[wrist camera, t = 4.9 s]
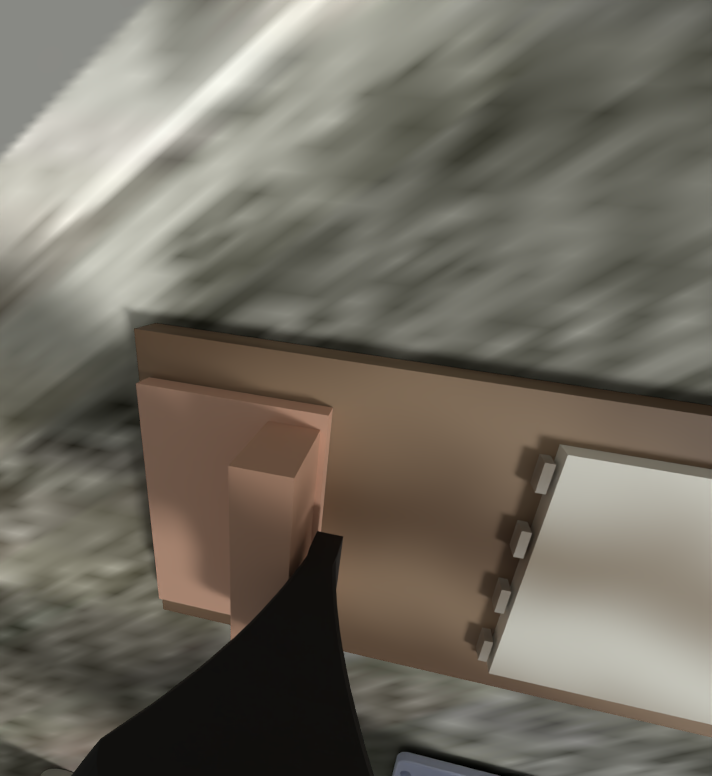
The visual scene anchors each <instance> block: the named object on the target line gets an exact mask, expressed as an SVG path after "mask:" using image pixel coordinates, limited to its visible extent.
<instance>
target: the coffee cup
mask: <svg viewBox="0 0 712 776" xmlns="http://www.w3.org/2000/svg"><path fill="white" fill-rule="evenodd" d="M72 774H73V773H72V772H69V771H67V770H62V769H48V770H46V771H44V772H43V773H42V774H41V775H40V776H71V775H72Z"/></svg>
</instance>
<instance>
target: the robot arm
mask: <svg viewBox="0 0 712 776" xmlns="http://www.w3.org/2000/svg"><path fill="white" fill-rule="evenodd" d="M342 543H343V536H339V535H334V534H329V533H324V532H319V531H317V533H316V535H315V537H314V539H313V541H312V543H311V545H310V548H309V551H308V554H307V556H306V558H305V559H304V560H303V562H302V563H301V564H300V566H299V567H298V568H297V570H296V571H295V572H294V573H293V575H292V576H291V577H290V578H289V580H288V581H287V582H286V583H285V585H284V586H283V587H282V588H281V589H280V590H279V591H278V593H277V594H276V595H275V596H274V597H273V598H272V599H271V600H270V602H269V603H268V604H267V605H266V606H265V607H264V608H263V609H262V610H261V611H260V612H259V613H258V614H257V616H256V617H255V618H254V619H253V620H252V621H251V622H250V623H249V624H248V625H247V626H246V627H244V628H243V629H242V630H241V631H240V632H239V633H238V634H237V635H236V636H235V637H234V638H233V639H232V640H231V641H230V642H228V643H227V644H226V645H225V646H224V647H223V648H222V649H221V650H219V651H218V652H217V653H216V654H215V655H214V656H213V657H212V658H210V659H209V660H208V661H207V662H206V663H204V664H203V665H202V666H201V667H200V668H198V669H197V670H196V671H195V672H193V673H192V674H191V675H189V676H188V677H187V678H185V679H184V680H183V681H182V682H180V683H179V684H178V685H176V686H175V687H174V688H172V689H171V690H170V691H169V692H167V693H166V694H165V695H163V696H162V697H161V698H159V699H158V700H157V701H155V702H154V703H152V704H151V705H150V706H148V707H147V708H145V709H144V710H142V711H141V712H139V713H138V714H136V715H135V716H133V717H132V718H130V719H129V720H128V721H126V722H125V723H123V724H122V725H120V726H119V727H117V728H116V729H114V730H113V731H111V732H110V733H108V734H107V735H105V736H104V737H103V738H101V739H100V740H99V741H98V743H97V744H96V745H95V746H94V747H93V749H92V750H91V751H90V752H89V754H88V755H87V756H86V757H85V759H84V760H83V761H82V763H81V764H80V765H79V767H78V768H77V769H76V770H75V772H74V773H73V774H72V775H71V776H374V775H373V771H372V768H371V765H370V762H369V758H368V755H367V751H366V748H365V744H364V740H363V737H362V733H361V729H360V725H359V721H358V717H357V713H356V709H355V705H354V701H353V697H352V693H351V689H350V684H349V679H348V674H347V669H346V664H345V658H344V653H343V647H342V641H341V634H340V626H339V617H338V608H337V594H336V588H337V582H338V574H339V566H340V558H341V550H342ZM392 776H499V775H496V774H492V773H488V772H484V771H480V770H476V769H472V768H468V767H465V766H461V765H457V764H453V763H449V762H445V761H441V760H437V759H433V758H430V757H426V756H422V755H418V754H414V753H410V752H401V753H399V754H398V755H397V758H396V762H395V766H394V770H393V773H392Z"/></svg>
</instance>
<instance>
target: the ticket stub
mask: <svg viewBox="0 0 712 776" xmlns="http://www.w3.org/2000/svg"><path fill="white" fill-rule="evenodd" d="M136 389H137V398H138V407H139V417H140V426H141V435H142V444H143V453H144V463H145V472H146V481H147V490H148V499H149V509H150V518H151V527H152V536H153V545H154V554H155V564H156V573H157V582H158V591H159V599H163V600H168V601H172V602H176V603H181V604H185V605H189V606H194V607H198V608H202V609H206V610H211V611H215V612H219V613H224V614H228V615H231V640H232V639H233V638H234V637H235V636H236V635H237V634H238V633H239V632H240V631H241V630H242V629H243V628H244V627H246V626H247V625H248V624H249V623H250V622H251V621H252V620H253V619H254V618H255V617H256V616H257V614H258V613H259V612H260V611H261V610H262V609H263V608H264V607H265V606H266V605H267V604H268V603H269V602H270V600H271V599H272V598H273V597H274V596H275V595H276V594H277V593H278V591H279V590H280V589H281V588H282V587H283V586H284V585H285V583H286V582H287V581H288V580H289V578H290V577H291V576H292V575H293V573H294V572H295V571H296V570H297V568H298V567H299V566H300V564H301V563H302V562H303V560H304V559H305V558H306V556H307V554H308V551H309V548H310V545H311V543H312V541H313V539H314V537H315V535H316V533H317V531H319V532H321V526H322V516H323V506H324V495H325V485H326V475H327V464H328V454H329V444H330V433H331V423H332V413H333V407H327V406H321V405H315V404H308V403H302V402H296V401H290V400H284V399H278V398H272V397H266V396H260V395H254V394H248V393H242V392H236V391H230V390H224V389H218V388H212V387H206V386H200V385H193V384H187V383H181V382H175V381H169V380H163V379H157V378H151V377H148V378H146V379H144V380H142V381H140V382H138V383H136Z"/></svg>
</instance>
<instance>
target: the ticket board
mask: <svg viewBox="0 0 712 776" xmlns="http://www.w3.org/2000/svg"><path fill="white" fill-rule="evenodd" d="M134 333H135V343H136V352H137V362H138V371H139V381H142V380H144V379H146V378H148V377H151V378H157V379H163V380H169V381H175V382H181V383H187V384H193V385H200V386H206V387H212V388H218V389H224V390H230V391H236V392H242V393H248V394H254V395H260V396H266V397H272V398H278V399H284V400H290V401H296V402H302V403H308V404H315V405H321V406H327V407H333V413H332V423H331V433H330V444H329V454H328V464H327V475H326V485H325V495H324V506H323V516H322V526H321V532H324V533H329V534H334V535H339V536H343V543H342V550H341V558H340V566H339V574H338V582H337V588H336V594H337V608H338V617H339V626H340V634H341V641H342V647H343V651H345V652H349V653H353V654H358V655H362V656H366V657H370V658H375V659H379V660H383V661H388V662H392V663H396V664H400V665H405V666H409V667H413V668H417V669H422V670H426V671H430V672H435V673H439V674H443V675H447V676H452V677H456V678H460V679H464V680H469V681H473V682H477V683H482V684H486V685H490V686H494V687H499V688H503V689H507V690H511V691H516V692H520V693H524V694H529V695H533V696H537V697H541V698H546V699H550V700H554V701H558V702H563V703H567V704H571V705H576V706H580V707H584V708H588V709H593V710H597V711H601V712H605V713H610V714H614V715H618V716H623V717H627V718H631V719H635V720H640V721H644V722H648V723H653V724H657V725H661V726H665V727H670V728H674V729H678V730H682V731H687V732H691V733H695V734H700V735H704V736H708V737H712V406H710V405H703V404H696V403H690V402H683V401H676V400H670V399H663V398H656V397H649V396H643V395H636V394H629V393H622V392H616V391H609V390H602V389H596V388H589V387H582V386H575V385H569V384H562V383H555V382H548V381H542V380H535V379H528V378H522V377H515V376H508V375H501V374H495V373H488V372H481V371H475V370H468V369H461V368H454V367H448V366H441V365H434V364H427V363H421V362H414V361H407V360H401V359H394V358H387V357H380V356H374V355H367V354H360V353H353V352H347V351H340V350H333V349H327V348H320V347H313V346H306V345H300V344H293V343H286V342H279V341H273V340H266V339H259V338H253V337H246V336H239V335H232V334H226V333H219V332H212V331H205V330H199V329H192V328H185V327H179V326H172V325H165V324H158V323H154V324H150V325H146V326H143V327H139V328H135V329H134ZM162 600H163V599H162ZM163 609H165V610H170V611H174V612H178V613H182V614H187V615H191V616H195V617H199V618H204V619H208V620H212V621H217V622H221V623H225V624H229V625H231V615H228V614H224V613H219V612H215V611H211V610H206V609H202V608H198V607H194V606H189V605H185V604H181V603H176V602H172V601H168V600H163Z"/></svg>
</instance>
